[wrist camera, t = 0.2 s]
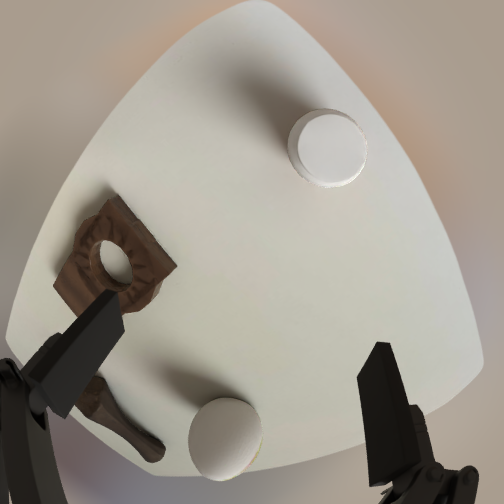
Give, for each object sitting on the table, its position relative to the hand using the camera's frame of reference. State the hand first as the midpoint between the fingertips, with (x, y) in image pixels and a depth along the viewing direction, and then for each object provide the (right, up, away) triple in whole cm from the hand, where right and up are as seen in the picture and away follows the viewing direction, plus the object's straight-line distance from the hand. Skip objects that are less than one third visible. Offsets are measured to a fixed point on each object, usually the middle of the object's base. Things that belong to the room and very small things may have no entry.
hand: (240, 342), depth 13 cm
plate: (-21, +1, +24) cm, 32 cm away
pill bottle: (+8, +15, +14) cm, 22 cm away
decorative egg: (-3, -24, +31) cm, 39 cm away
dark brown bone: (-29, -34, +40) cm, 59 cm away
